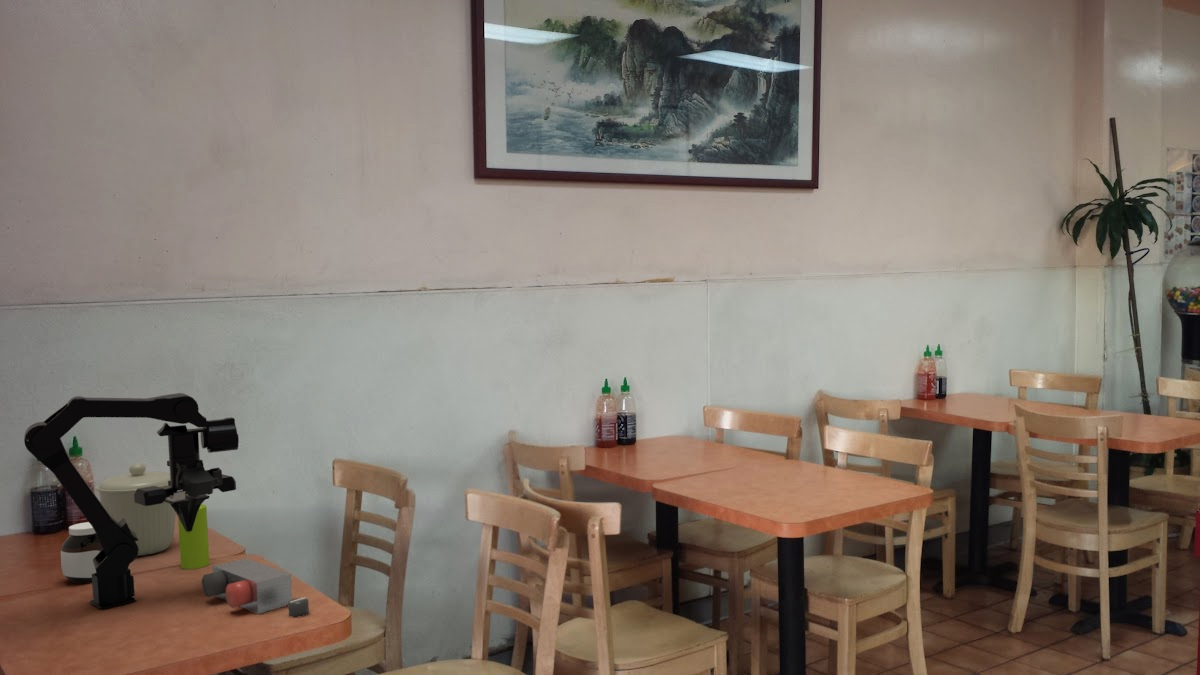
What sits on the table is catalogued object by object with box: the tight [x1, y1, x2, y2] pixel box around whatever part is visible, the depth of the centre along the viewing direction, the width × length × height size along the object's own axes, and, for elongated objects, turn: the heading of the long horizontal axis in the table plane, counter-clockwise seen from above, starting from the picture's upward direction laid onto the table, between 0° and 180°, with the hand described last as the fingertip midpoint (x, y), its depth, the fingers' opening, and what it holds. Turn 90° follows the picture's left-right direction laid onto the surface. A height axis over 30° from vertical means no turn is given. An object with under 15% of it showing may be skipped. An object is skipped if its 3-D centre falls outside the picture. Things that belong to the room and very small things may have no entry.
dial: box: [287, 596, 310, 618], centre depth 186 cm, size 4×4×3 cm
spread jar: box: [60, 521, 103, 584], centre depth 216 cm, size 12×11×12 cm
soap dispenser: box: [177, 494, 210, 570], centre depth 221 cm, size 6×7×20 cm
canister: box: [95, 462, 177, 557], centre depth 235 cm, size 18×18×21 cm
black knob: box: [201, 571, 227, 598], centre depth 198 cm, size 12×4×4 cm, turn 136°
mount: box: [212, 557, 293, 615], centre depth 195 cm, size 7×18×6 cm, turn 46°
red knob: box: [226, 578, 293, 609], centre depth 191 cm, size 12×4×4 cm, turn 136°
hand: (188, 531), depth 203 cm, fingers closed
